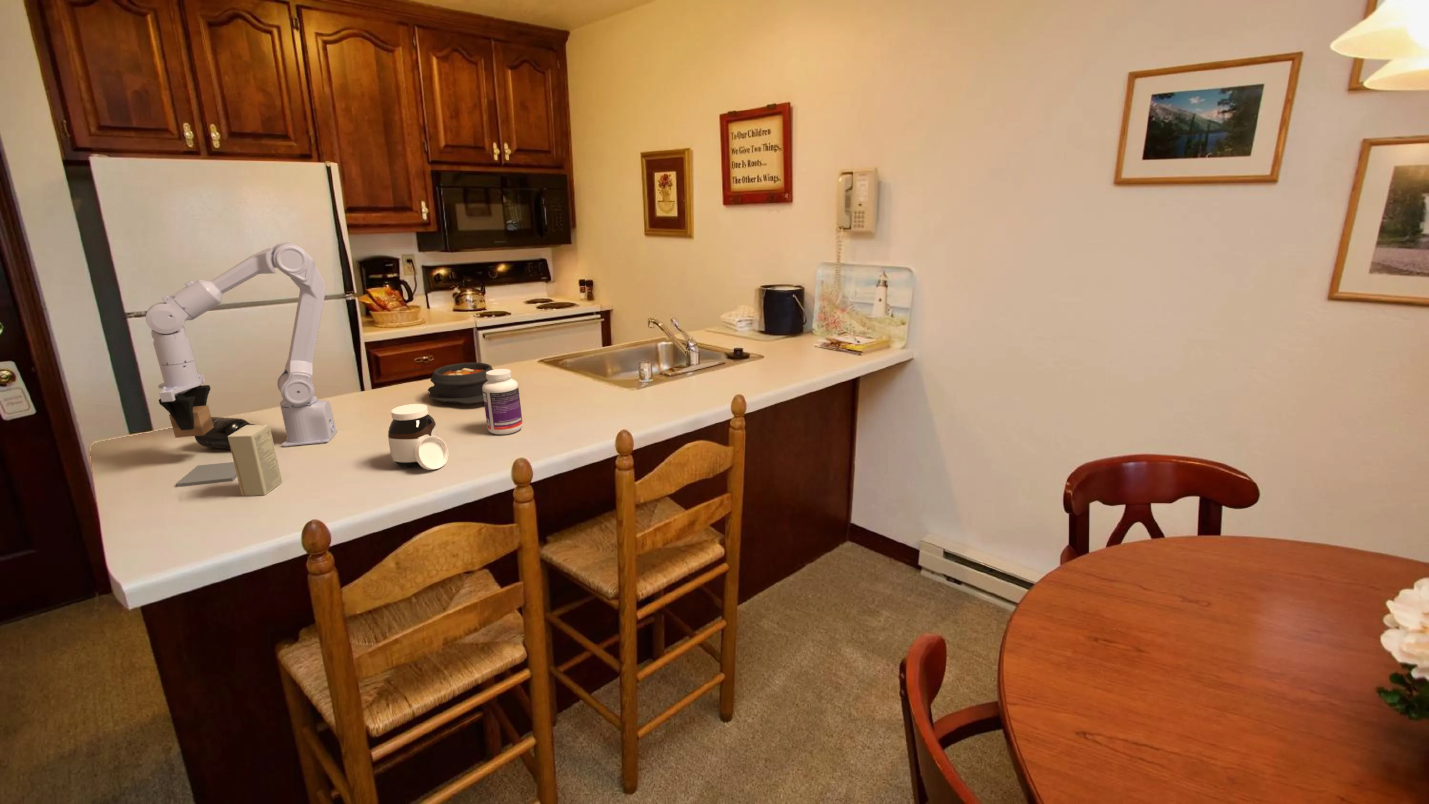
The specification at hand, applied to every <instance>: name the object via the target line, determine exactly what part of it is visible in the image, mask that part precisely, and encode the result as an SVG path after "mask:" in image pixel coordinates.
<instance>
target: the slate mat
mask: <svg viewBox="0 0 1429 804" xmlns="http://www.w3.org/2000/svg"><path fill="white" fill-rule="evenodd" d="M236 478H238V477H237V473H236V469H235V465H234V461H231V462H220V463H211V464H209V463H208V464H199V465H196V466H195V467H194V468H193V469H192V470H191V471H189V472H188V473H187V474H185V475H184V476H183V477H182V478H180V479H179V480H178V481H177V482H176V483H174V484H175V487H176V488H179V487H186V486H189V487H190V486H196V485H206V484H215V483H216V484H217V483H226V482H227V483H228V482H233V481H234V480H235V479H236Z"/></svg>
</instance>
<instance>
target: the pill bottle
mask: <svg viewBox="0 0 1429 804" xmlns="http://www.w3.org/2000/svg"><path fill="white" fill-rule="evenodd" d="M486 378H487V380H488V381H487V382H485V383H484V384H483V387H482V390H483V398H484V402H483V405H484V412H485V419H486V427H487V431H488V432H489V433H490V434H494V435H499V436H500V435H509V434H514V433H516V432H518V431H520V430H521V429H522V428H523V416H522V414H523V413H522V407H521V399H520V390H519V384H518V381H516V380H515V379H513V378H512V369H509V368H495V369H493V370H490V371H488V372H486Z"/></svg>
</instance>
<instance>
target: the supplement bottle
mask: <svg viewBox="0 0 1429 804" xmlns="http://www.w3.org/2000/svg"><path fill="white" fill-rule="evenodd" d="M211 418H212V422H213V426H214V428H212V429H211V430H210V431H208V432H207V433H206V434H204V435H200V436H194V439H195V441H196V442H197V443H198V444H199V445H200V446H202V447H205V448H215V449H230V450H231V448H230V444H229V440H228V436H229V435H231V434H232V433H234V432H236V431H237V430H239V429H241V428H242V427H244V426H246V425H256V424H255V423H250V422H249V421H247V420H245V419H243V418H236V417H235V418H233V417H222V416H211Z"/></svg>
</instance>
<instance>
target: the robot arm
mask: <svg viewBox="0 0 1429 804" xmlns="http://www.w3.org/2000/svg"><path fill="white" fill-rule="evenodd" d="M275 269H278V270H279V271H280V272H282V273H283V274H285V275H286V276H288V277H289V278H290V279H291V281H293V283H294V284H295V285H296V286H297V287H298V289H299V294H298V301H297V306H296V312H295V316H294V317H295V318H294V322H293V329H292V334H291V340H290V346H289V352H288V357H287V360H286V363H285V365H284V369H283V372H282V374H280V375H279V377H278V379H277V387H278V390H279V392H280V395H281V398H282V400H281V401H280V402H279V406H280V410H281V414H282V420H283V424H284V429H285V432H286V433H285V434H286V436H287V437H286V439H285V441H284V442H282V443H281V446H282V447H291V446H292V447H293V446H302V445H313V444H323V443H324V444H325V443H329V442H330V441H331V439H332V438H333V437H334V436H335V434H336V433H337V432H338V429H336V428H337V427H336V423H335V419H334V412H333V408H332V406H331V402H330V401H329V400H319V399H318V397H317V396H316V395H315V391H316V390H315V387H314V384H313V375H314V371H313V370H314V366H313V364H314V357H315V352H316V345H317V342H318V341H317V340H318V336H319V335H318V334H319V329H320V325H321V324H320V323H321V318H322V314H323V308H324V304H325V303H324V302H325V297H326V290H327V287H326V286H327V285H326V283H325V281H324V279H323V276H322V275H321V272H320V271H319V269H318V267H317V265H316V263H315V260H314V258H312V256H311V255H309V254H308V253H307V252H306V250H305V249H303V248H302V247H300V246H298V245H296V244H294V243H291V242H288V241H287V242H285V241H283V242H278V243H276V244H275V245H274V246H272V248H271V247H268V248H265V249H263V250H260V251H258V252H256V253H254V254H252V255H250V256H248V257H247V258H245V259H244V260H242V261H240V262H239V263H237V264H235V265H234V266H232V267H231V268H229V269H228V270H226V271H224V272H223V273H221V274H220V275H218V276H216V277H215V278H214V279H212V280H206V279H205V280H204V279H197V280H195V281H193V280H189V281H186V282H185V283H184V285H185V287H184V288H181V289H180V290H178V291H177V292H175V293H173V294H171V295H169V296H168V295H167V294H166V295H164V296H162V297H161V299H162V300H163V302H162V301H160V302H156V303H154V304H152V305H151V306H150V307H148V309H147V312H146V315H145V321H146V324H147V325H148V327H149V328H150V329H151V333H150V334H151V335H150V336H151V337H152V339H153V342H152V344H153V347H154V350H155V355H156V359H157V363H158V366H159V369H160V373H161V375H162V380H163V383H160V384H158V389H162V390H161V391H160V392H159V398H160V399H158V403H159V405H160V406H161V407H163V408H164V409H165V410H166V411H167V412H168V413H169V415H170V414H171V415H172V417H173V418H174V420H175V421H176V423H177V425H178V426H179V428H180V429H181V430H189V429H193V428H194V418H193V407H194V406H206V405H208V404H207V402H208V397H209V394H210V391H211V385H208V384H205V383H206V382H207V381H206V378H205V374H204V373H198V368H197V364H196V360H195V356H194V353H193V350H192V345H191V341H190V338H189V336H187V333H186V329H185V322H187V321H193V320H195V319H197V318H199V317H200V316H201V315H203V314H206V313H207V312H208V311H210V310H212V309H214V308H215V307H217V306H218V305H219V306H220V304H222V301H223V295H224V294H225V293H227V292H229V291H230V290H232V289H234V288H236V287H238V286H239V285H241V284H244V283H245V282H247V281H249V280H251V279H252V278H254V277H256V276H257V275H260V274H261V275H262V274H268V275H269V274H277V272H276V270H275ZM202 384H203V385H202Z"/></svg>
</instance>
